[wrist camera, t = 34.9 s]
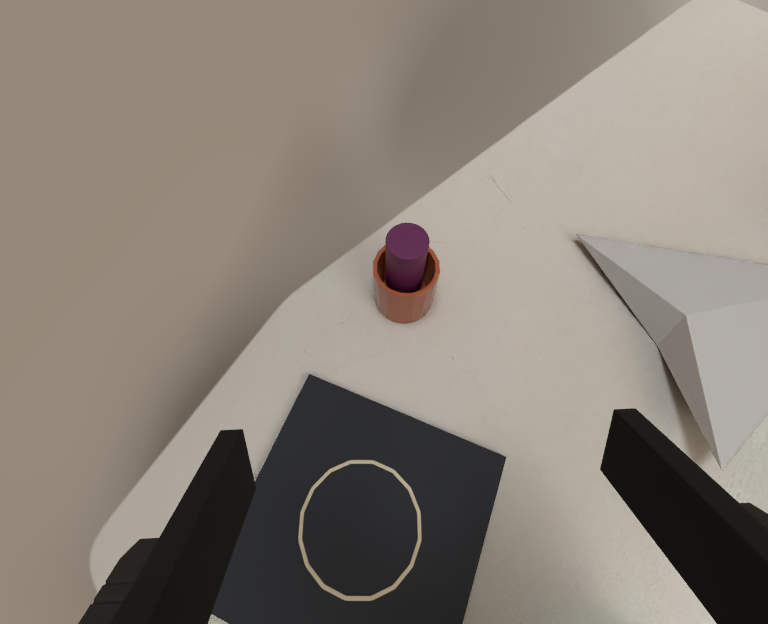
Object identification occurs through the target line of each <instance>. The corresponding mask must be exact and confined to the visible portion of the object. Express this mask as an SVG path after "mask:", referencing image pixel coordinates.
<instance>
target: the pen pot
mask: <svg viewBox="0 0 768 624" xmlns="http://www.w3.org/2000/svg"><path fill="white" fill-rule="evenodd" d="M439 274H440V268H439V260H438V258H437V257H436V255H435V253H434V251H433V250H432V249H430V248H428V253H427V258H426V264H425V269H424V275H423V280H422V286H421V290H419V291H417V292H414V293H400V292H397V291H394V290H392V289H390V288H388V287H387V286H386V245H385V246H384V247H383V248H382V249H380V250H379V251H378V253H377V255H376V257H375V259H374V261H373V278H374V291H375V301H376V304H377V307H378V309H379V311H380V312H381V313H382V314H383V315H384V316H385V317H386V318H388V319H390V320H392V321H394V322H398V323H410V322H414V321H416V320H418V319H420V318H422V317H423V316H424V315H425V314H426V313H427V312H428V310H429V308H430V306H431V303H432V300H433V296H434V293H435V289H436V285H437V281H438V278H439Z"/></svg>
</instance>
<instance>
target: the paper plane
mask: <svg viewBox="0 0 768 624" xmlns="http://www.w3.org/2000/svg"><path fill="white" fill-rule="evenodd" d="M576 235H577V234H576ZM577 236H578V238H579V239H580V240H581V242H582V243H583V244H584V246H585V247H586V249H587V250H588V251H589V253H590V254H591V255H592V257H593V258H594V259H595V261H596V262H597V264H598V265H599V266H600V268H601V269H602V270H603V272H604V273H605V275H606V276H607V277H608V279H609V280H610V281H611V283H612V284H613V286H614V287H615V288H616V290H617V291H618V292H619V294H620V295H621V297H622V298H623V299H624V301H625V302H626V303H627V305H628V306H629V307H630V309H631V310H632V312H633V313H634V314H635V316H636V317H637V318H638V320H639V321H640V323H641V324H642V325H643V327H644V328H645V329H646V331H647V332H648V334H649V335H650V336H651V338H652V339H653V340H654V342H655V343H656V345H657V346H658V348H659V350H660V352H661V354H662V356H663V358H664V360H665V362H666V364H667V365H668V367H669V369H670V371H671V373H672V375H673V377H674V379H675V381H676V383H677V385H678V387H679V389H680V391H681V393H682V395H683V396H684V398H685V400H686V402H687V404H688V406H689V408H690V410H691V412H692V414H693V416H694V418H695V420H696V422H697V424H698V426H699V428H700V429H701V431H702V433H703V435H704V437H705V439H706V441H707V443H708V445H709V447H710V449H711V451H712V453H713V455H714V457H715V459H716V461H717V462H718V464H719V466H720V468H721V470H722V471H723V469H724V468H725V467H726V466H727V464H728V463H729V462H730V461H731V459H732V458H733V457H734V456H735V454H736V453H737V452H738V451H739V449H740V448H741V447H742V446H743V444H744V443H745V442H746V441H747V439H748V438H749V437H750V436H751V434H752V433H753V432H754V431H755V429H756V428H757V427H758V426H759V424H760V423H761V422H762V421H763V419H764V418H765V417H766V416H767V414H768V264H762V263H755V262H749V261H743V260H736V259H730V258H723V257H717V256H711V255H704V254H698V253H691V252H685V251H679V250H672V249H666V248H660V247H653V246H647V245H640V244H634V243H628V242H621V241H615V240H609V239H602V238H596V237H589V236H583V235H577Z"/></svg>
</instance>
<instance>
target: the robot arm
mask: <svg viewBox="0 0 768 624" xmlns="http://www.w3.org/2000/svg"><path fill="white" fill-rule="evenodd" d="M600 470H601V471H602V472H603V474H604V475H605V476H606V478H607V479H608V480H609V482H610V483H611V484H612V486H613V487H614V488H615V490H616V491H617V492H618V494H619V495H620V496H621V497H622V499H623V500H624V501H625V503H626V504H627V505H628V507H629V508H630V509H631V511H632V512H633V513H634V515H635V516H636V517H637V519H638V520H639V521H640V523H641V524H642V525H643V527H644V528H645V529H646V530H647V532H648V533H649V534H650V536H651V537H652V538H653V540H654V541H655V542H656V544H657V545H658V546H659V548H660V549H661V550H662V552H663V553H664V554H665V556H666V557H667V558H668V559H669V561H670V562H671V563H672V565H673V566H674V567H675V569H676V570H677V571H678V573H679V574H680V575H681V577H682V578H683V579H684V581H685V582H686V583H687V585H688V586H689V587H690V589H691V590H692V591H693V592H694V594H695V595H696V596H697V598H698V599H699V600H700V602H701V603H702V604H703V606H704V607H705V608H706V610H707V611H708V612H709V614H710V615H711V616H712V618H713V619H714V620H715V621H716V623H717V624H768V514H767V513H765V512H764V511H762V510H760V509H759V508H757V507H756V506H754V505H752V504H751V503H738V502H737V501H736V500H735V499H734V498H733V497H732V496H731V495H730V494H729V493H727V492H726V491H725V490H724V489H723V488H722V487H721V486H720V485H719V484H718V483H716V482H715V481H714V480H713V479H712V478H711V477H710V476H709V475H708V474H707V473H706V472H704V471H703V470H702V469H701V468H700V467H699V466H698V465H697V464H696V463H695V462H693V461H692V460H691V459H690V458H689V457H688V456H687V455H686V454H685V453H684V452H683V451H681V450H680V449H679V448H678V447H677V446H676V445H675V444H674V443H673V442H672V441H670V440H669V439H668V438H667V437H666V436H665V435H664V434H663V433H662V432H661V431H659V430H658V429H657V428H656V427H655V426H654V425H653V424H652V423H651V422H650V421H649V420H647V419H646V418H645V417H644V416H643V415H642V414H641V413H640V412H639V411H638V410H636V409H616V410H614V412H613V416H612V421H611V425H610V429H609V434H608V438H607V442H606V447H605V451H604V455H603V460H602V464H601V468H600ZM255 490H256V487H255V482H254V478H253V473H252V469H251V464H250V460H249V455H248V451H247V446H246V442H245V437H244V433H243V429H240V430H221V431H220V433H219V434H218V436H217V438H216V440H215V441H214V443H213V445H212V447H211V448H210V450H209V452H208V454H207V455H206V457H205V459H204V461H203V462H202V464H201V466H200V468H199V469H198V471H197V473H196V475H195V476H194V478H193V480H192V482H191V483H190V485H189V487H188V489H187V490H186V492H185V494H184V496H183V497H182V499H181V501H180V503H179V504H178V506H177V508H176V510H175V511H174V513H173V515H172V517H171V518H170V520H169V522H168V524H167V525H166V527H165V529H164V531H163V532H162V534H161V536H160V538H149V539H140V540H139V541H138V542H137V543H136V544H135V545H133V546H132V547H131V548H130V549H129V550H128V551H127V552H126V553H125V554H124V555H123V556H122V557H121V558H120V560H119V561H118V563H117V564H116V566H115V567H114V569H113V571H112V572H111V574H110V575H109V577H108V578H107V580H106V584H105V585H103V586H102V588H101V589H100V591H99V592H98V594H97V595H96V597H95V599H94V603H93V604H92V605H90V606H89V608H88V610H87V611H86V613H85V614H84V616H83V617H82V619H81V620H80V622H79V624H208V621H209V618H210V616H211V613H212V610H213V607H214V604H215V602H216V599H217V596H218V593H219V590H220V588H221V585H222V582H223V579H224V576H225V574H226V571H227V568H228V565H229V562H230V560H231V557H232V554H233V551H234V548H235V546H236V543H237V540H238V537H239V535H240V532H241V529H242V526H243V523H244V521H245V518H246V515H247V512H248V509H249V507H250V504H251V501H252V498H253V495H254V493H255Z"/></svg>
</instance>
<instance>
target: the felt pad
mask: <svg viewBox="0 0 768 624" xmlns="http://www.w3.org/2000/svg"><path fill="white" fill-rule="evenodd" d="M505 459H506V457H505V456H502V455H500V454H498V453H495V452H493V451H491V450H488V449H486V448H483V447H481V446H479V445H476V444H474V443H472V442H469V441H467V440H464V439H462V438H460V437H457V436H455V435H453V434H450V433H448V432H445V431H443V430H441V429H438V428H436V427H434V426H431V425H429V424H426V423H424V422H422V421H419V420H417V419H415V418H412V417H410V416H407V415H405V414H403V413H400V412H398V411H396V410H393V409H391V408H388V407H386V406H384V405H381V404H379V403H377V402H374V401H372V400H369V399H367V398H365V397H362V396H360V395H358V394H355V393H353V392H350V391H348V390H346V389H343V388H341V387H339V386H336V385H334V384H331V383H329V382H327V381H324V380H322V379H320V378H317V377H315V376H312V375H310V374H309V376H308V378H307V380H306V382H305V384H304V386H303V388H302V390H301V392H300V394H299V395H298V397H297V399H296V401H295V403H294V405H293V407H292V409H291V411H290V413H289V415H288V417H287V419H286V421H285V423H284V425H283V427H282V429H281V431H280V433H279V435H278V437H277V439H276V441H275V443H274V445H273V447H272V449H271V451H270V453H269V455H268V457H267V459H266V461H265V463H264V465H263V467H262V469H261V471H260V473H259V475H258V477H257V479H256V481H255V487H256V490H255V493H254V495H253V498H252V501H251V504H250V507H249V509H248V512H247V515H246V518H245V521H244V523H243V526H242V529H241V532H240V535H239V537H238V540H237V543H236V546H235V548H234V551H233V554H232V557H231V560H230V562H229V565H228V568H227V571H226V574H225V576H224V579H223V582H222V585H221V588H220V590H219V593H218V596H217V599H216V602H215V604H214V607H213V610H212V613H211V614H213V615H215V616H217V617H218V618H220V619H222V620H224V621H225V622H227V623H229V624H462V623H463V619H464V615H465V611H466V607H467V604H468V600H469V596H470V592H471V588H472V585H473V581H474V577H475V573H476V569H477V566H478V562H479V558H480V554H481V550H482V547H483V543H484V539H485V535H486V532H487V528H488V524H489V520H490V516H491V513H492V509H493V505H494V501H495V497H496V494H497V490H498V486H499V482H500V478H501V475H502V471H503V467H504V463H505Z"/></svg>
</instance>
